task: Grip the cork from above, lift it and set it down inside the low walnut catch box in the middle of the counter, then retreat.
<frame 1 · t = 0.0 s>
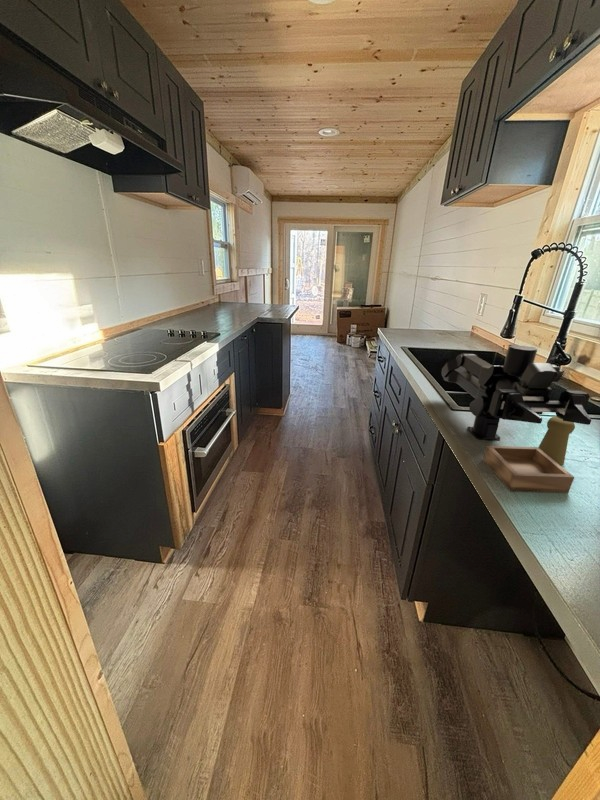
hand: (565, 421, 63), 17 cm above the countertop, tool horizontal, fingers open, 9 cm apart
cork: (548, 459, 81), on the countertop
catch box: (522, 475, 75), on the countertop
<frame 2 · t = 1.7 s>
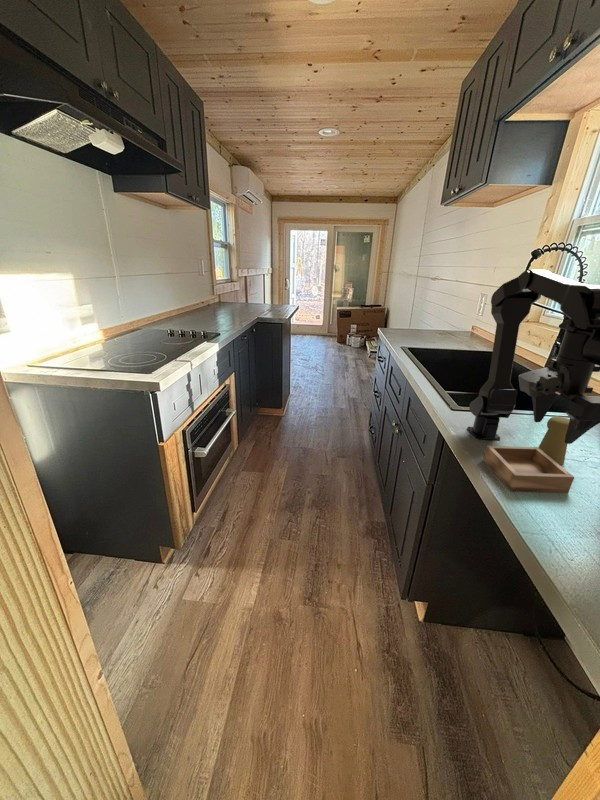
hand: (551, 432, 66), 13 cm above the countertop, tool pointing down, fingers open, 9 cm apart
nothing on the countertop moved.
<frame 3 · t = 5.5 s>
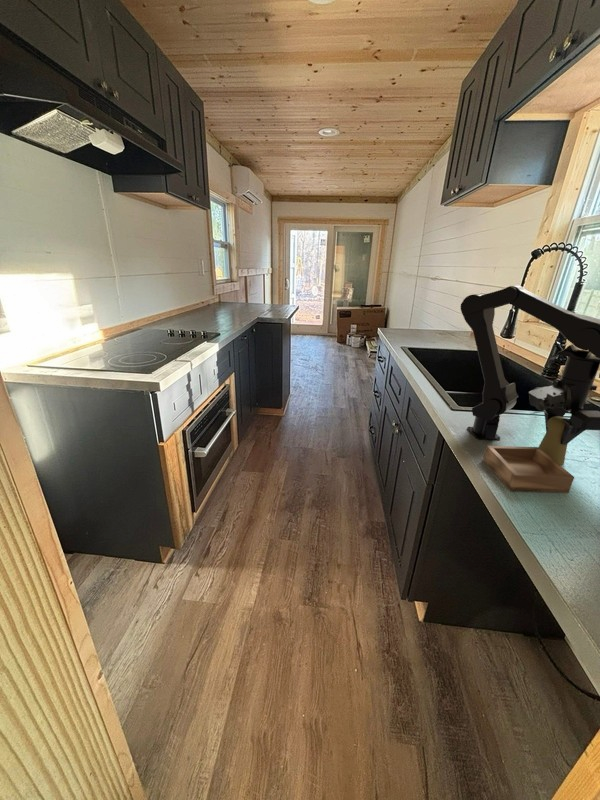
hand: (555, 439, 79), 6 cm above the countertop, tool pointing down, fingers closed on cork, 5 cm apart
cork: (548, 459, 81), on the countertop, touching gripper
when the fingers open (8 cm above the countertop, at t = 10.3 s): cork drops 1 cm, resting on catch box.
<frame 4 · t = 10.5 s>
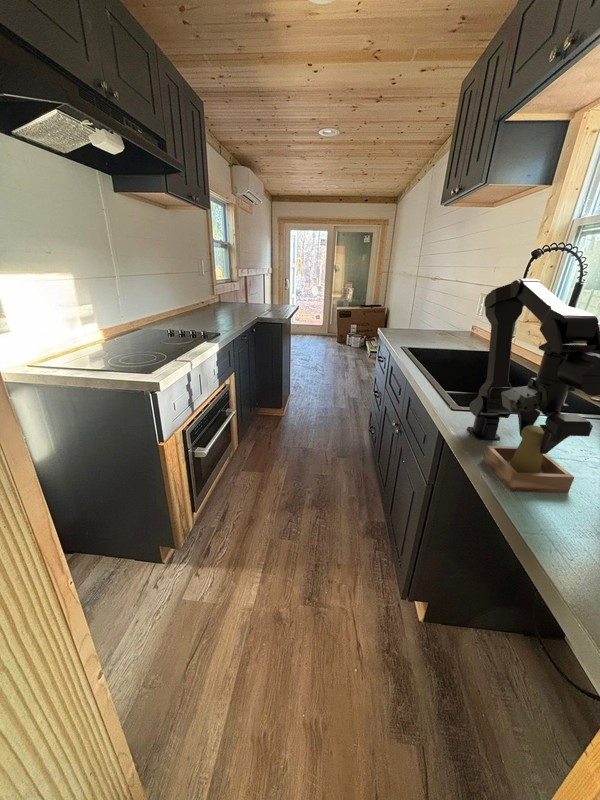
hand: (532, 444, 72), 8 cm above the countertop, tool pointing down, fingers open, 7 cm apart
cork: (523, 471, 74), point 1 cm above the countertop, touching catch box
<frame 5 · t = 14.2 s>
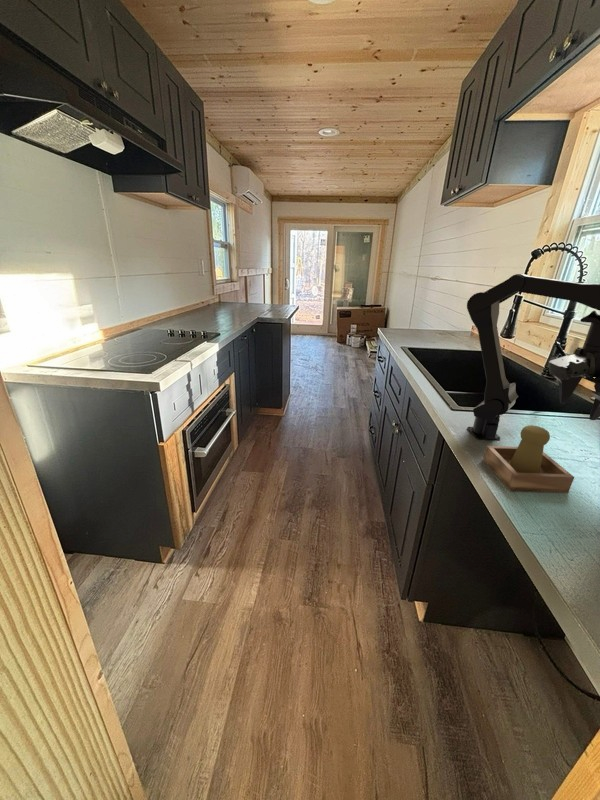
hand: (576, 411, 76), 13 cm above the countertop, tool pointing down, fingers open, 9 cm apart
nothing on the countertop moved.
at the end: cork 0.1 cm off-centre on the catch box, point 0.8 cm above the catch box's base; cork tilted 0°; the gripper is holding nothing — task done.
